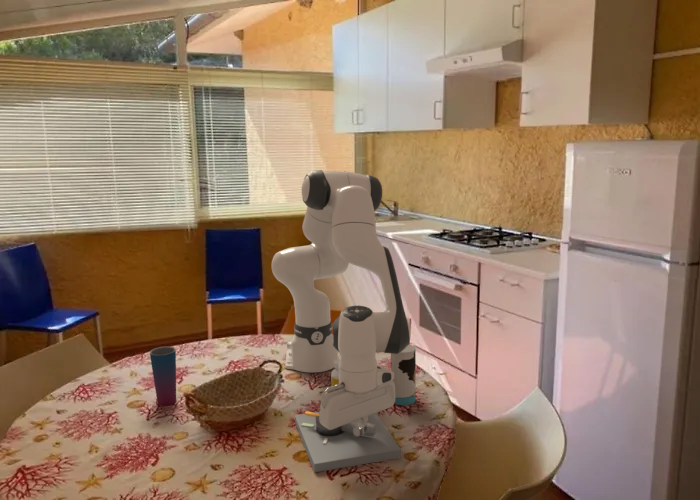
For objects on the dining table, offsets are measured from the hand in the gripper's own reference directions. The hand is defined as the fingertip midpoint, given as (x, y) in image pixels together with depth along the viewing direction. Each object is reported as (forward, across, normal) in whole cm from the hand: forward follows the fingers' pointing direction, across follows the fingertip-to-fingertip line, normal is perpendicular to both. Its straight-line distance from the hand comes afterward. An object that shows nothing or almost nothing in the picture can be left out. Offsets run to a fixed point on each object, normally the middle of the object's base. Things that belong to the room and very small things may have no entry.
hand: (358, 434), depth 136 cm
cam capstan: (+1, -1, +6) cm, 7 cm away
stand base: (+3, 0, +6) cm, 7 cm away
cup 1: (+3, -24, +54) cm, 60 cm away
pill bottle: (+3, +13, +22) cm, 26 cm away
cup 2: (+3, +26, +12) cm, 29 cm away
